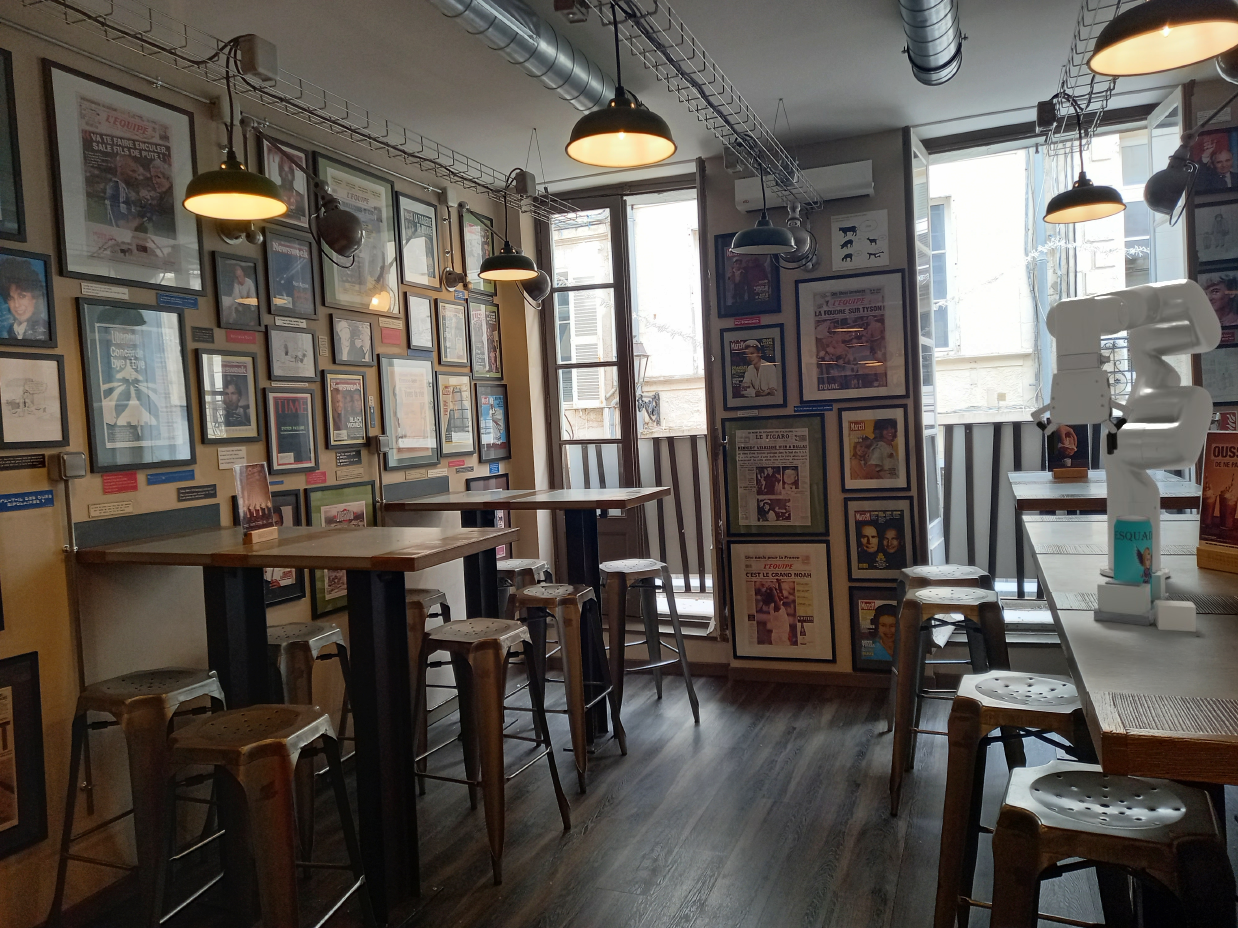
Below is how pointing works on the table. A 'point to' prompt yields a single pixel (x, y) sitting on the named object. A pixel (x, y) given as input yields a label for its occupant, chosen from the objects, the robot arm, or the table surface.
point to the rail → (1129, 615)
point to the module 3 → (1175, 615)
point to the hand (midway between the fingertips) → (1081, 454)
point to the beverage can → (1133, 549)
